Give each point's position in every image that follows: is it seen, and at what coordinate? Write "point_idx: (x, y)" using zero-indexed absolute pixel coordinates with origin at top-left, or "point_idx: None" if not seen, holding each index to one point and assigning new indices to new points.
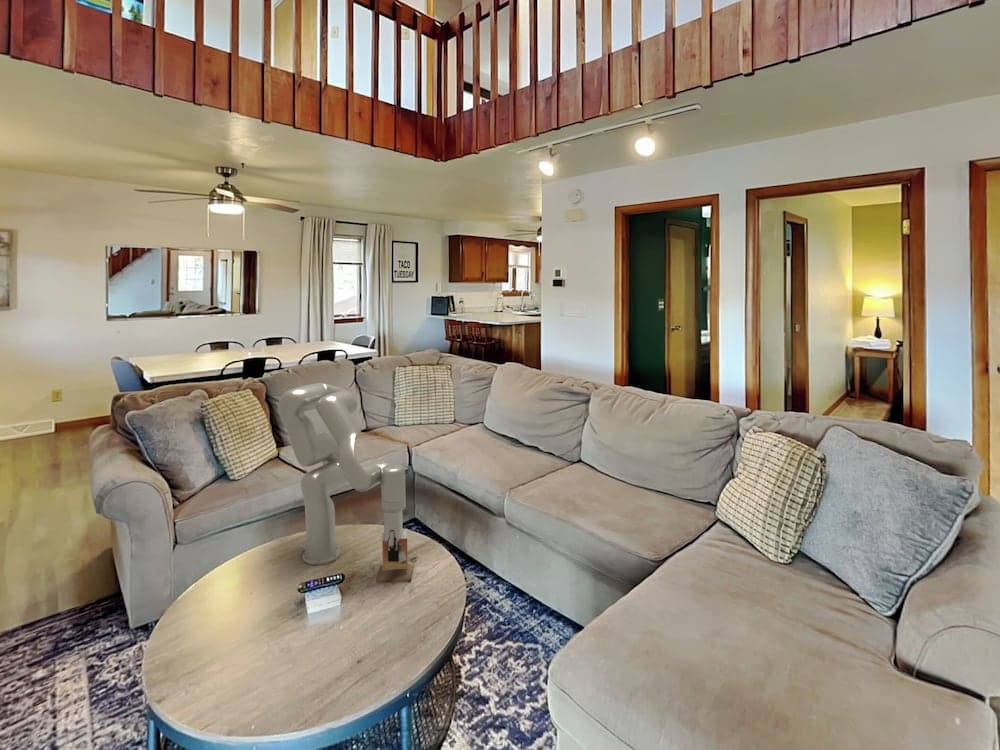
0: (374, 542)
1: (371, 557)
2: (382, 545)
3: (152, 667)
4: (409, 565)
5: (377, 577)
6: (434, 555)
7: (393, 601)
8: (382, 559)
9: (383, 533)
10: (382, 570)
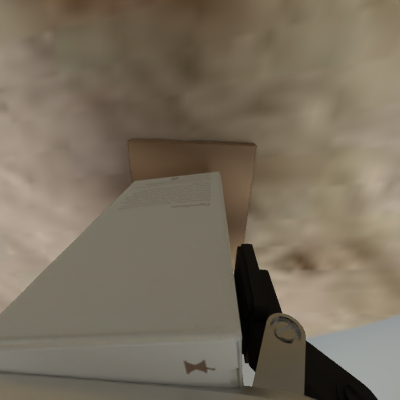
0: None
1: (375, 80)
2: (33, 281)
3: None
4: (235, 259)
5: (146, 145)
6: (307, 318)
7: (26, 213)
8: (141, 196)
9: (216, 351)
10: (205, 161)
